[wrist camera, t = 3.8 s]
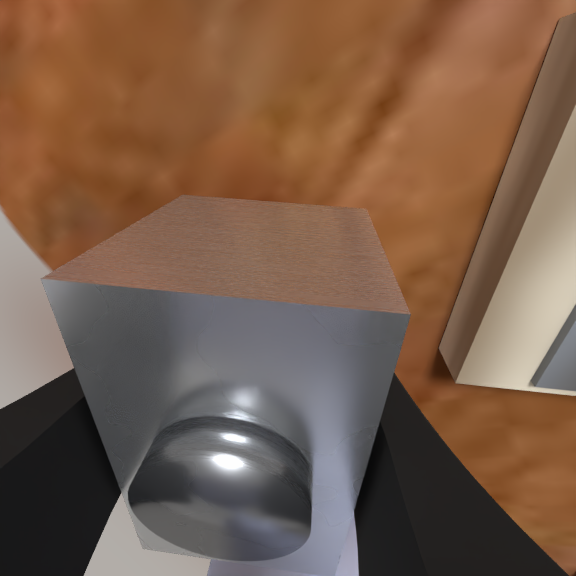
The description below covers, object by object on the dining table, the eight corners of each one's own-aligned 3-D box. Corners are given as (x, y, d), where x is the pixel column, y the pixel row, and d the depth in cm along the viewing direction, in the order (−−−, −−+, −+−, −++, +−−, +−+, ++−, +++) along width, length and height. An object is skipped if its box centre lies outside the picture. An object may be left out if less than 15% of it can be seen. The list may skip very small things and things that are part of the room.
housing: (205, 398, 13) (126, 588, 8) (182, 195, 9) (-14, 310, 4) (331, 413, 12) (335, 622, 7) (366, 208, 8) (429, 357, 3)
